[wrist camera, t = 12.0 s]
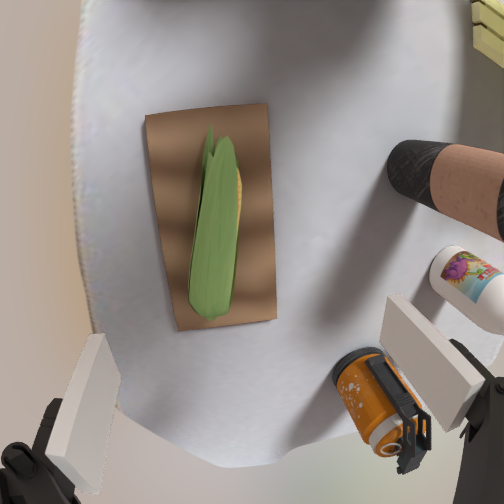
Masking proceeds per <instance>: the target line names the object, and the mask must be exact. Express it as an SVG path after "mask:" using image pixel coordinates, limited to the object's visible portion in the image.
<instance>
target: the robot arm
mask: <svg viewBox="0 0 504 504" xmlns="http://www.w3.org/2000/svg"><path fill="white" fill-rule="evenodd" d="M379 342H380V343H381V344H382V346H383V347H384V348H385V350H386V351H387V352H388V353H389V355H390V356H391V357H392V359H393V360H394V361H395V363H396V364H397V365H398V367H399V368H400V370H401V371H402V372H403V374H404V375H405V376H406V378H407V379H408V380H409V382H410V383H411V384H412V386H413V387H414V389H415V390H416V391H417V393H418V394H419V396H420V397H421V398H422V400H423V401H424V402H425V404H426V405H427V407H428V408H429V409H430V411H431V412H432V414H433V415H434V416H435V418H436V419H437V421H438V422H439V424H440V425H441V426H442V428H443V429H444V431H445V432H446V433H447V432H449V431H451V430H453V429H455V428H457V427H458V426H460V424H461V422H462V421H463V419H464V417H466V418H467V420H468V421H469V422H468V423H467V425H466V427H465V428H464V430H463V431H462V433H461V434H460V438H462V437H463V435H464V434H465V441H464V448H463V455H462V461H461V467H460V472H459V477H458V482H457V488H456V492H455V496H454V500H453V504H504V377H496V378H495V377H494V376H493V375H492V374H491V373H490V372H489V371H488V370H487V369H486V368H485V367H484V366H483V365H482V364H481V363H480V362H479V361H478V360H477V359H476V358H474V355H473V354H472V353H471V352H470V353H469V350H468V349H467V348H466V347H465V346H464V345H463V344H461V343H459V342H458V341H456V340H454V339H450V340H447V338H446V337H445V336H444V335H443V334H442V333H441V332H440V331H439V330H438V329H437V328H436V327H435V326H434V325H432V324H431V323H430V322H429V321H428V320H427V319H426V318H425V317H424V316H423V315H422V314H421V313H420V312H419V311H418V310H417V309H416V308H415V307H414V306H413V305H412V304H411V303H410V302H409V301H408V300H407V299H406V298H405V297H403V296H402V295H401V294H395V295H391V296H387V302H386V308H385V314H384V320H383V325H382V330H381V335H380V340H379ZM121 379H122V377H121V375H120V372H119V370H118V367H117V365H116V362H115V360H114V357H113V355H112V352H111V350H110V347H109V344H108V342H107V339H106V336H105V333H98V334H89V337H88V339H87V341H86V343H85V346H84V348H83V350H82V353H81V355H80V357H79V360H78V362H77V365H76V367H75V370H74V372H73V375H72V377H71V380H70V382H69V385H68V388H67V390H66V393H65V395H64V398H63V399H61V398H54V399H53V400H52V402H51V403H50V404H49V405H48V406H47V408H46V411H45V413H44V416H43V419H42V421H41V424H40V427H39V429H38V432H37V435H36V438H35V441H34V444H33V447H32V450H31V449H30V448H29V447H28V445H26V444H24V443H23V442H14V443H11V444H10V445H8V446H7V447H6V448H5V449H4V451H3V452H2V456H1V462H2V464H3V466H5V468H2V469H0V504H81V502H80V501H79V500H78V498H77V496H75V494H74V490H75V486H76V487H77V488H78V489H79V490H80V491H81V492H82V493H88V494H95V495H100V493H101V486H102V478H103V471H104V465H105V459H106V453H107V447H108V442H109V436H110V431H111V425H112V420H113V416H114V411H115V406H116V401H117V397H118V392H119V388H120V383H121Z"/></svg>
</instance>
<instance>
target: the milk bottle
mask: <svg viewBox="0 0 504 504" xmlns="http://www.w3.org/2000/svg"><path fill="white" fill-rule="evenodd" d="M429 281H430V284H431V287H432V288H433V289H434V290H435V291H436V292H437V293H438V294H439V295H441V296H442V297H443V298H444V299H445V300H447V301H448V302H449V303H450V304H452V305H453V306H454V307H455V308H456V309H458V310H459V311H460V312H461V313H462V314H464V315H465V316H466V317H467V318H468V319H470V320H471V321H472V322H473V323H475V324H476V325H477V326H479V327H480V328H482V329H483V330H485V331H487V332H490V333H493V334H499V335H504V274H503V273H502V272H500V271H499V270H497V269H496V268H494V267H493V266H491V265H489V264H488V263H486V262H485V261H483V260H481V259H480V258H478V257H476V256H474V255H473V254H471V253H469V252H468V251H466V250H464V249H462V248H460V247H458V246H448V247H446V248H444V249H443V250H442V251H440V252H439V253H438V255H437V256H436V257H435V259H434V261H433V263H432V265H431V268H430V273H429Z"/></svg>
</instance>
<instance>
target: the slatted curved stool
mask: <svg viewBox="0 0 504 504" xmlns="http://www.w3.org/2000/svg"><path fill="white" fill-rule="evenodd" d="M473 2H474V3H471V9H472V22H473V23H475V26H473V47H474V48H476V49H477V50H479V51H480V52H482V53H483V54H484V55H486V56H487V57H489V58H490V59H491V60H493V61H494V62H495V63H497V64H498V65H499V66H501V67H502V68H503V69H504V5H503V4H502V3H501V2H499V1H498V0H473Z"/></svg>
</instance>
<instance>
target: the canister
mask: <svg viewBox="0 0 504 504" xmlns="http://www.w3.org/2000/svg"><path fill="white" fill-rule="evenodd" d="M333 381H334V384H335V386H336V388H337V390H338V392H339V394H340V396H341V398H342V400H343V402H344V404H345V406H346V408H347V410H348V411H349V413H350V415H351V417H352V419H353V421H354V423H355V425H356V427H357V429H358V431H359V433H360V435H361V437H362V439H363V441H364V442H365V443H366V444H369V445H371V447H372V449H373V451H374V453H375V454H377V455H379V456H381V457H391V456H395V455H397V456H398V455H399V458H398V460H397V463H398V465H399V467H397V473H398V474H401V473H402V474H403V475H404V474H406V473H408V472H410V471H412V470H414V469H417V468H418V467H419V466H420V462H421V461H422V459H423V457H424V455H425V454H426V452H427V450H431V416H430V415H428V414H427V413H426V412H425V411H423V410H422V405H421V403H420V402H419V401H418V399H417V398H416V396H415V395H414V394H413V392H412V391H411V390H410V388H409V387H408V385H407V384H406V383H405V381H404V380H403V379H402V377H401V376H400V375H399V373H398V372H397V371H396V369H395V368H394V367H393V365H392V364H391V363H390V361H389V360H388V359H387V357H386V356H385V355H384V353H383V352H382V351H381V350H380V349H378V348H375V347H366V348H362V349H359V350H357V351H354V352H353V353H351V354H349V355H348V356H347V357H345V358H344V359H343V360H342V361H341V362H340V363H339V365H338V366H337V368H336V369H335V372H334V375H333ZM425 431H426V437H425V436H424V433H425Z"/></svg>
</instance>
